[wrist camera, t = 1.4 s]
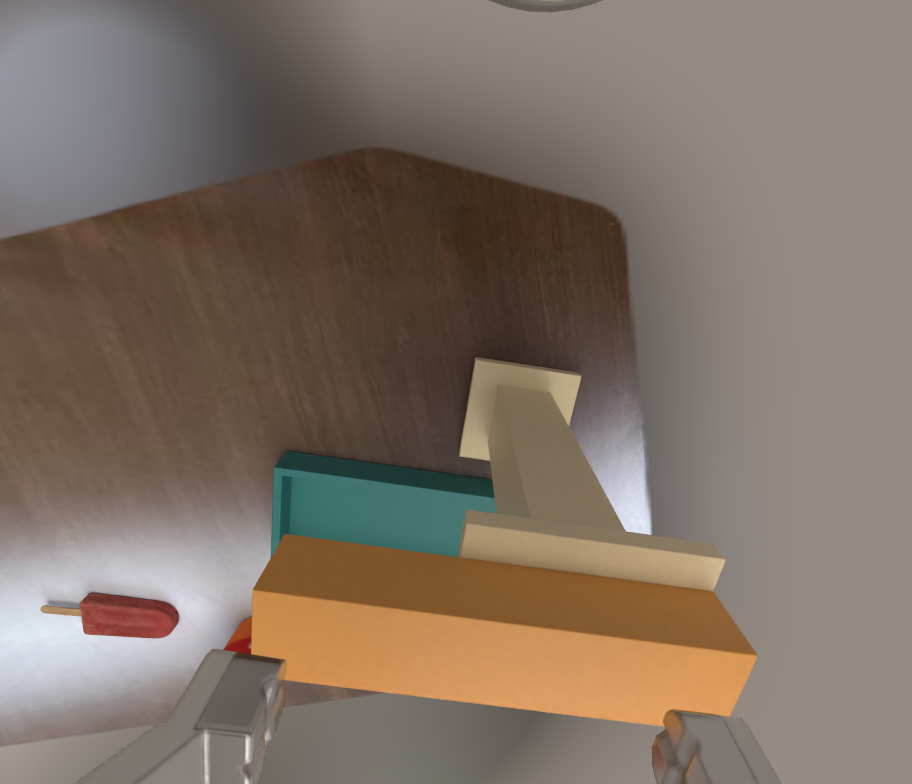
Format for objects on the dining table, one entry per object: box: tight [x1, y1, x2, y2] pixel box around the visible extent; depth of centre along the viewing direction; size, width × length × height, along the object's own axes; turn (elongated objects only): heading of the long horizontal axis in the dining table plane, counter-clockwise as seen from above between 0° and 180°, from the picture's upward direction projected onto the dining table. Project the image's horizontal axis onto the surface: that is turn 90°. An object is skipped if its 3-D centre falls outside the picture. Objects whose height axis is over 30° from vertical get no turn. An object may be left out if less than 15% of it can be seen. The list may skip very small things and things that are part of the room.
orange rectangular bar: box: [251, 534, 758, 727], centre depth 21 cm, size 20×4×4 cm, turn 81°
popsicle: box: [41, 593, 178, 638], centre depth 55 cm, size 4×2×15 cm
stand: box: [457, 357, 725, 592], centre depth 35 cm, size 12×10×26 cm
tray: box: [271, 451, 497, 557], centre depth 50 cm, size 27×13×4 cm, turn 81°
